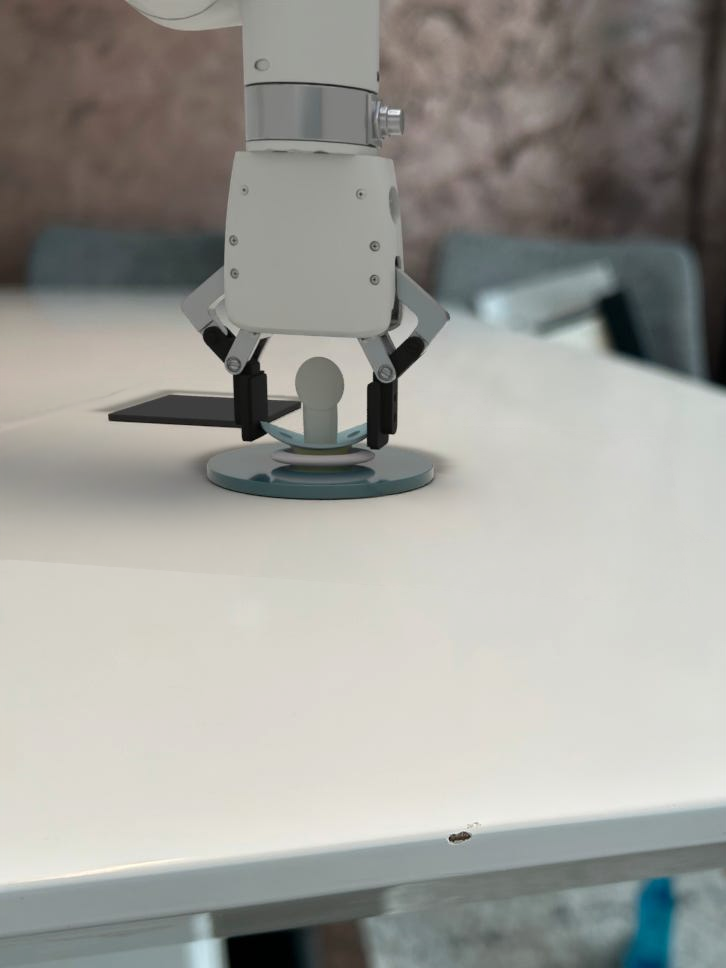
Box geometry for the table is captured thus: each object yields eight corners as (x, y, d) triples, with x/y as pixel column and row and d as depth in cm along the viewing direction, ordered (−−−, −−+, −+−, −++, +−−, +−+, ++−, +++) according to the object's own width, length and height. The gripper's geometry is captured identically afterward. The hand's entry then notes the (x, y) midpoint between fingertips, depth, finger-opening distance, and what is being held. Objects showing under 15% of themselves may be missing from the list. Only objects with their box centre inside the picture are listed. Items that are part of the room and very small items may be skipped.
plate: (170, 490, 64) (169, 477, 63) (251, 449, 77) (250, 437, 76) (409, 505, 62) (409, 491, 62) (450, 460, 75) (450, 448, 75)
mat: (108, 420, 86) (107, 413, 86) (169, 400, 97) (169, 394, 97) (256, 428, 85) (256, 421, 85) (301, 406, 96) (301, 401, 96)
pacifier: (386, 472, 67) (374, 451, 72) (386, 367, 65) (374, 353, 70) (263, 474, 66) (261, 452, 71) (259, 366, 63) (257, 352, 69)
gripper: (473, 139, 65) (463, 441, 71) (190, 131, 67) (204, 424, 73) (453, 126, 58) (444, 462, 64) (137, 117, 60) (157, 443, 66)
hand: (316, 440), depth 69 cm, fingers closed on pacifier, 7 cm apart
